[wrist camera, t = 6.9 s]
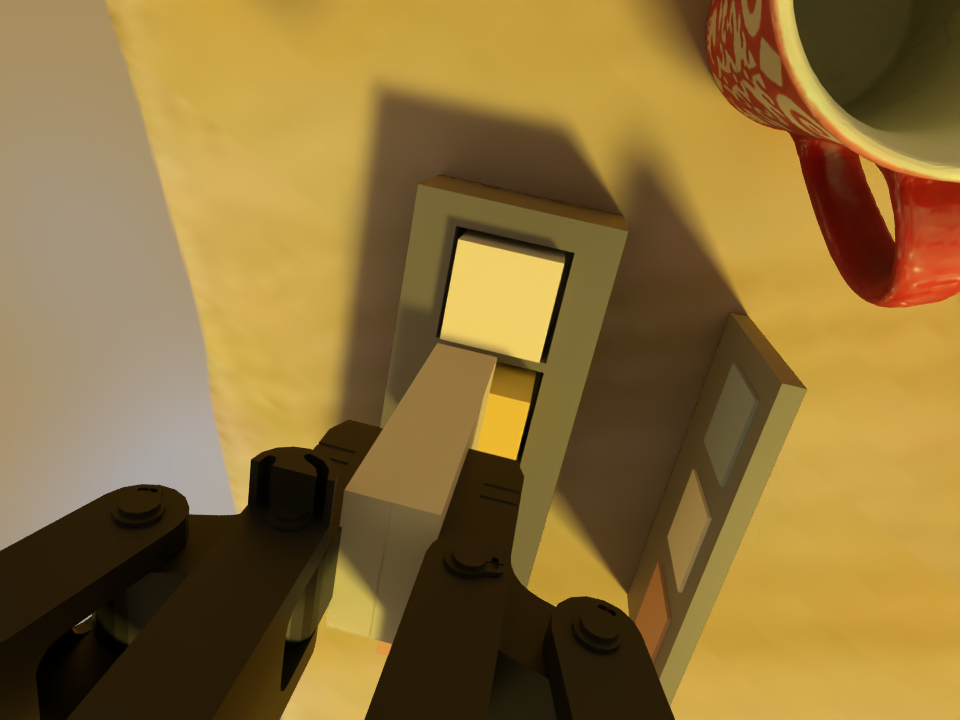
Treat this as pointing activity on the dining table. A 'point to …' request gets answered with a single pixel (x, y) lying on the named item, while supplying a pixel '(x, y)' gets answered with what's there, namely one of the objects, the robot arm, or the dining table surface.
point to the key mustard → (506, 410)
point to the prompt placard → (712, 494)
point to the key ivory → (502, 294)
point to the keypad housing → (570, 334)
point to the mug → (859, 125)
